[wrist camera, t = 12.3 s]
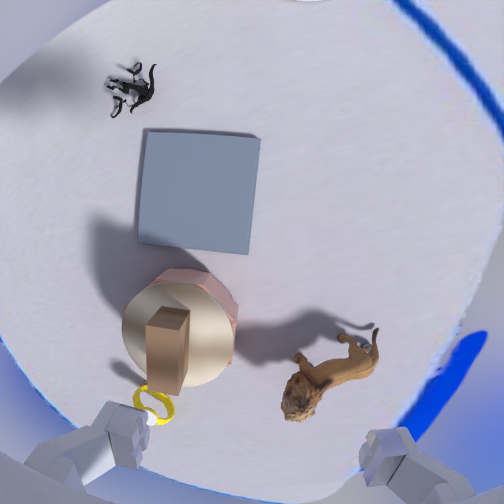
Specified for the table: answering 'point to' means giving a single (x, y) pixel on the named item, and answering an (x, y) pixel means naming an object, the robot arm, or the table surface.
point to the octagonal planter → (208, 285)
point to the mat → (198, 191)
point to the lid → (177, 336)
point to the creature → (143, 91)
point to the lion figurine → (326, 377)
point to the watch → (152, 414)
